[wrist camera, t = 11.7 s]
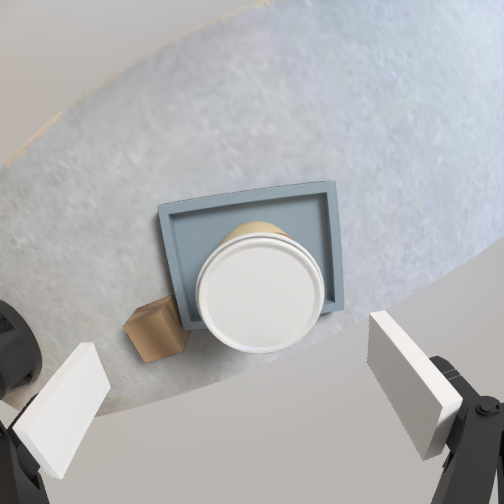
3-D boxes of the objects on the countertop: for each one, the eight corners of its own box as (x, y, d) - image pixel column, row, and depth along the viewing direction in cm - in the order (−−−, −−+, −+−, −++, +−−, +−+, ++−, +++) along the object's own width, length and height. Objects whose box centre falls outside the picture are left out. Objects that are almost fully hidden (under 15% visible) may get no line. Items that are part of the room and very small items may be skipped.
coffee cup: (307, 286, 34) (334, 341, 22) (225, 305, 34) (214, 367, 23) (290, 203, 32) (314, 221, 20) (202, 224, 32) (177, 253, 21)
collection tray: (187, 321, 36) (184, 330, 34) (163, 204, 33) (157, 206, 30) (338, 301, 36) (344, 309, 33) (329, 180, 32) (335, 181, 30)
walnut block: (156, 341, 37) (145, 363, 32) (137, 307, 36) (123, 326, 31) (190, 330, 36) (183, 351, 32) (171, 294, 35) (160, 312, 30)
